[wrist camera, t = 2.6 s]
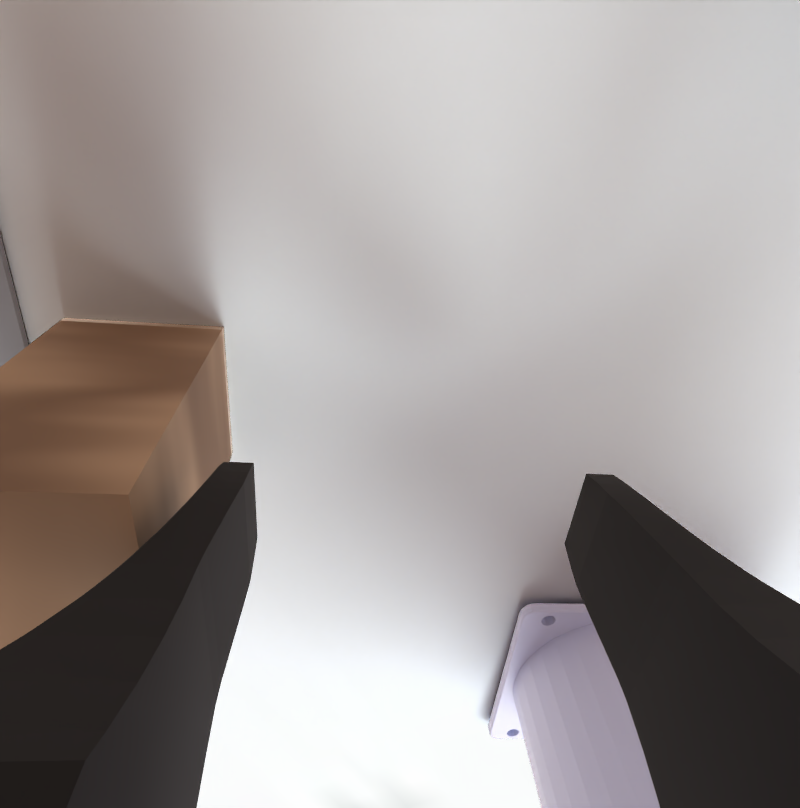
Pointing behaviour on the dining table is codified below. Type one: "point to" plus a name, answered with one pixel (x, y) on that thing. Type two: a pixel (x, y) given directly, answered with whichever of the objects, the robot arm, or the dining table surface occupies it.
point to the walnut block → (100, 452)
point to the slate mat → (9, 314)
